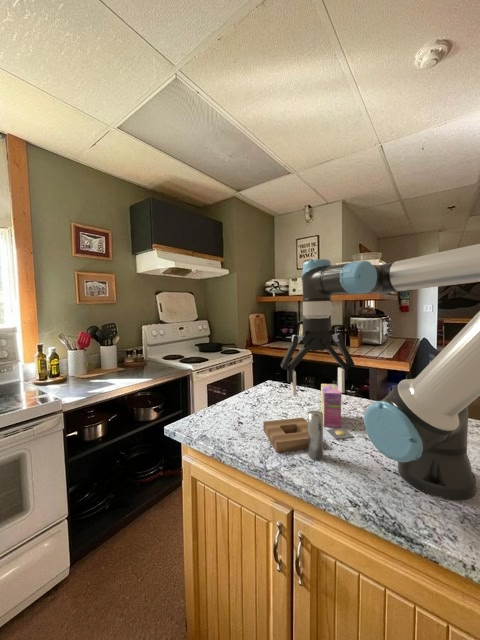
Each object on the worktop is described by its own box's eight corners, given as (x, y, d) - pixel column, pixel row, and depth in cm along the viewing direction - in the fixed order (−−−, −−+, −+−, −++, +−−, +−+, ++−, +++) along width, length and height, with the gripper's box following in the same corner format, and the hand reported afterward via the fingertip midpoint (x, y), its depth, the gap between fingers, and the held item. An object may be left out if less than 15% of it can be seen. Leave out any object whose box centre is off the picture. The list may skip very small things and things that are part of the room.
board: (322, 446, 82) (322, 436, 82) (276, 452, 79) (276, 442, 79) (303, 426, 96) (303, 417, 95) (263, 430, 93) (263, 421, 93)
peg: (325, 458, 76) (325, 415, 75) (312, 460, 75) (311, 416, 74) (319, 451, 80) (318, 409, 79) (305, 452, 79) (305, 411, 78)
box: (341, 427, 94) (341, 393, 93) (323, 426, 95) (323, 392, 94) (337, 415, 104) (336, 384, 103) (321, 414, 105) (320, 383, 104)
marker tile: (354, 437, 87) (354, 435, 87) (336, 439, 86) (336, 437, 86) (343, 428, 93) (343, 427, 93) (326, 430, 92) (326, 429, 92)
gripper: (354, 315, 82) (354, 386, 83) (269, 317, 81) (271, 390, 82) (367, 316, 74) (367, 394, 76) (274, 319, 73) (275, 399, 74)
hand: (317, 392), depth 79 cm, fingers open, 13 cm apart
